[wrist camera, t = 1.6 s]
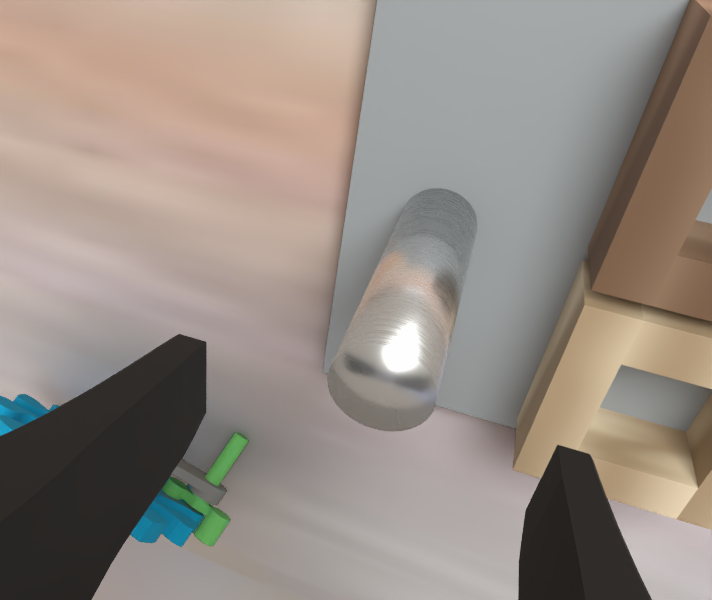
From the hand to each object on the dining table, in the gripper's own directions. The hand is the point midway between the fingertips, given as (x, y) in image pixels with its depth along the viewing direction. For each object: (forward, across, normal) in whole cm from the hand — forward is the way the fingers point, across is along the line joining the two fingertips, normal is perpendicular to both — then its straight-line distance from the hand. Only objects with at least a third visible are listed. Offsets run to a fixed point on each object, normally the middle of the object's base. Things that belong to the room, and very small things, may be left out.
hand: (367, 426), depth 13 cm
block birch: (+9, -8, +4) cm, 13 cm away
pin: (+9, 0, 0) cm, 9 cm away
